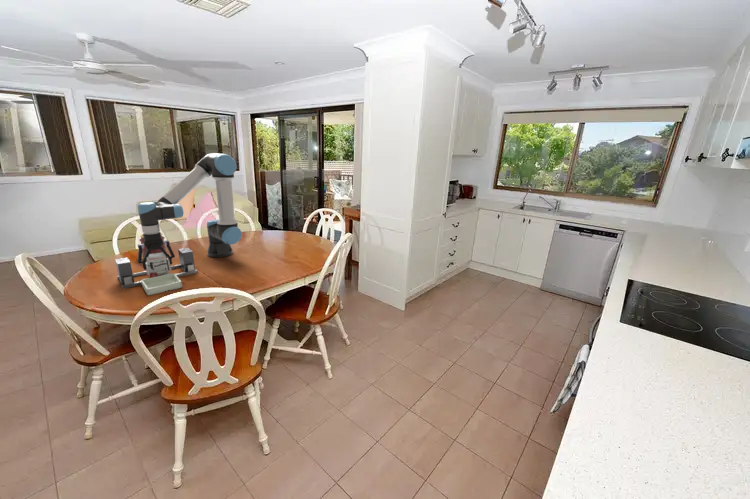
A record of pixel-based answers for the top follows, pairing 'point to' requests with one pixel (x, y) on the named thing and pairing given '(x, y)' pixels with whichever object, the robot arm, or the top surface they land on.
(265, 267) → the top surface
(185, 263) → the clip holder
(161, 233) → the canister
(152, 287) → the tray
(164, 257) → the ink box
